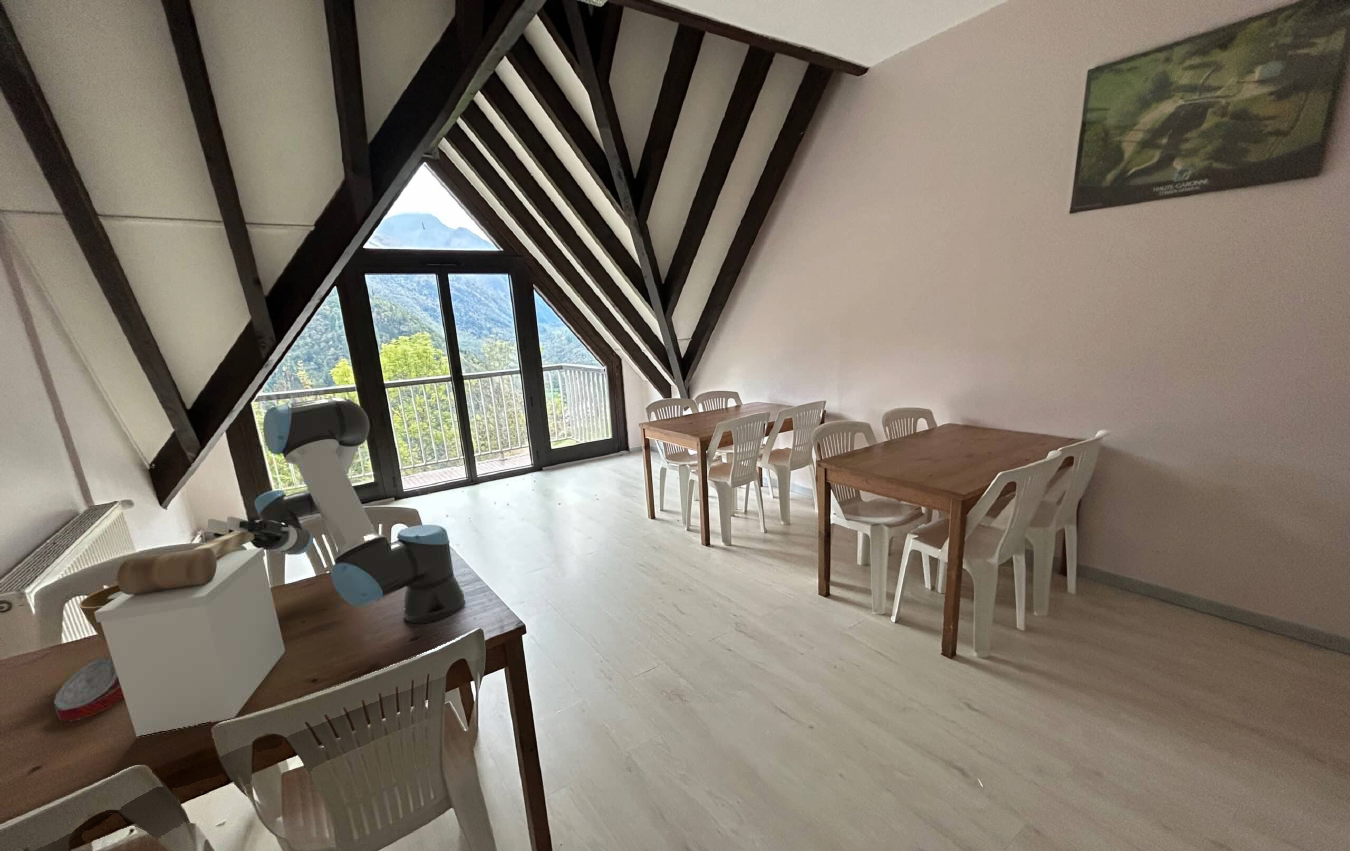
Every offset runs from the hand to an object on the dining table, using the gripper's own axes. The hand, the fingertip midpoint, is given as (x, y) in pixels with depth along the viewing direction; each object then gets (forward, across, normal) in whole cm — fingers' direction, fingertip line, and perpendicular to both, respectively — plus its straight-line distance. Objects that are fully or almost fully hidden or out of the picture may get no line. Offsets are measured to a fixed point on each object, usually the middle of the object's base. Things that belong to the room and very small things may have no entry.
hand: (219, 523), depth 117 cm
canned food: (-9, +24, -34) cm, 43 cm away
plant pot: (-27, +29, -23) cm, 46 cm away
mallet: (+2, 0, -10) cm, 10 cm away
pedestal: (-5, 0, -36) cm, 36 cm away
